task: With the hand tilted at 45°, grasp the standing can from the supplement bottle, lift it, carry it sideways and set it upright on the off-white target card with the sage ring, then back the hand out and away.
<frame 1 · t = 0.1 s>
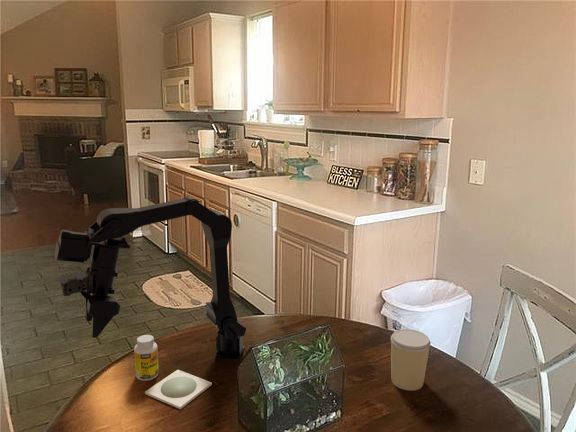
hand: (91, 328, 109), 15 cm above the table, tool pointing down, fingers open, 9 cm apart
target card: (179, 389, 113), on the table
supplement bottle: (147, 376, 118), on the table
coffee cup: (407, 382, 117), on the table
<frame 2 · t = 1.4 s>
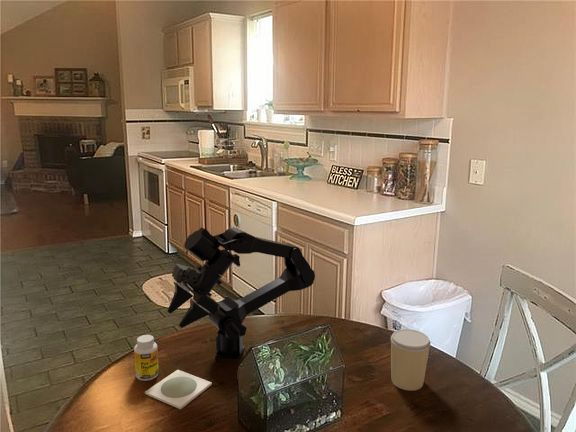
hand: (174, 319, 119), 13 cm above the table, tool tilted 45°, fingers open, 9 cm apart
nothing on the table moved.
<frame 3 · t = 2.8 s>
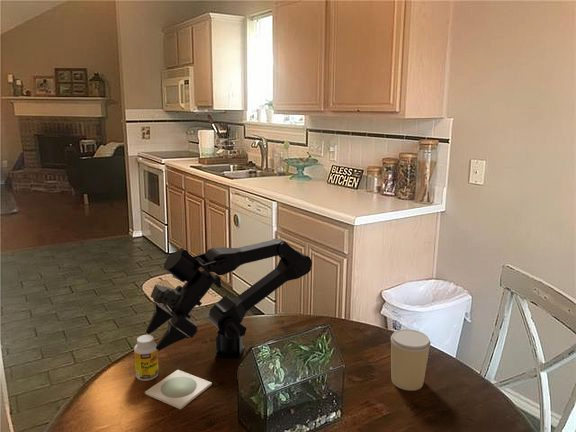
hand: (152, 341, 117), 9 cm above the table, tool tilted 45°, fingers open, 9 cm apart
nothing on the table moved.
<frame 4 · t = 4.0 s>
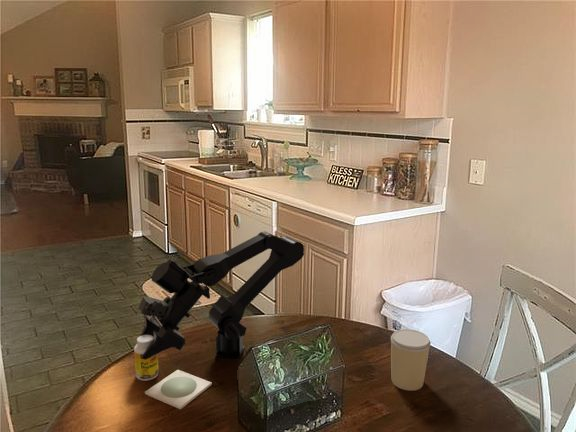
hand: (140, 353, 116), 7 cm above the table, tool tilted 45°, fingers closed on supplement bottle, 5 cm apart
supplement bottle: (147, 376, 118), on the table, touching gripper
everything else where it was.
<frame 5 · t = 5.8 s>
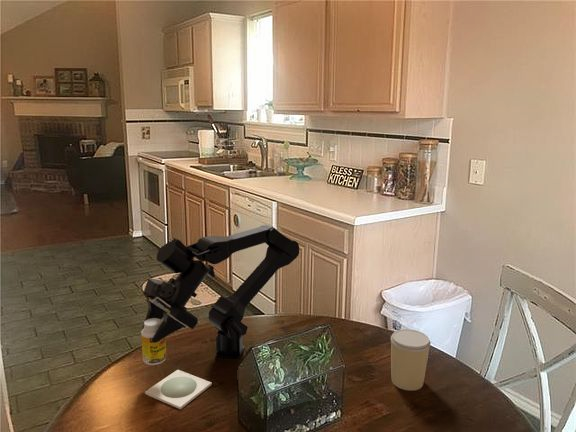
hand: (148, 337, 112), 12 cm above the table, tool tilted 45°, fingers closed on supplement bottle, 5 cm apart
supplement bottle: (155, 360, 115), point 5 cm above the table, touching gripper
everything else where it was.
when the fingers open (8 cm above the table, at t = 7.7 s): supplement bottle stays where it is, resting on target card.
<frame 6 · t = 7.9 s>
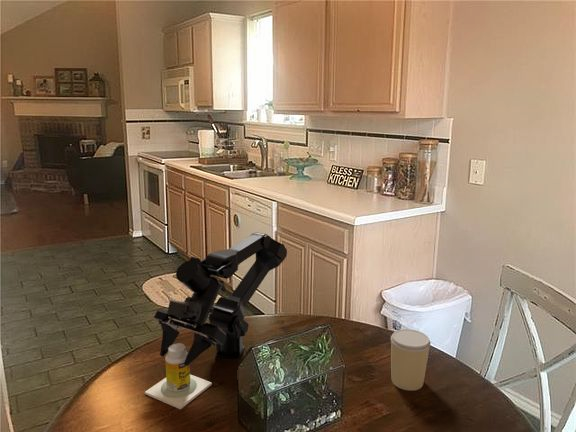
hand: (173, 360, 110), 8 cm above the table, tool tilted 45°, fingers open, 7 cm apart
supplement bottle: (178, 386, 113), point 1 cm above the table, touching target card
everything else where it was.
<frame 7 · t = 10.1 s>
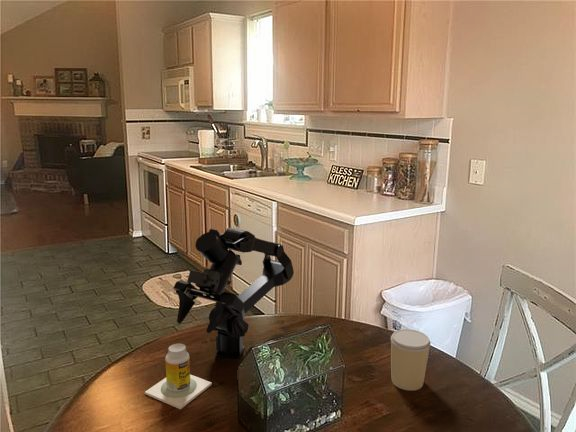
hand: (192, 327, 114), 14 cm above the table, tool tilted 45°, fingers open, 9 cm apart
nothing on the table moved.
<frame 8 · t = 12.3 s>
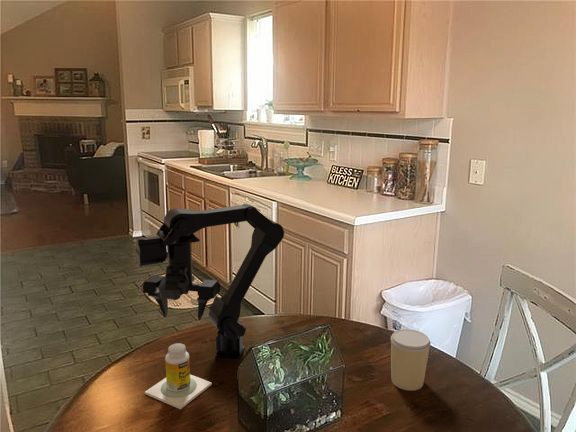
hand: (182, 317, 121), 13 cm above the table, tool pointing down, fingers open, 9 cm apart
nothing on the table moved.
at the end: supplement bottle inside the target area on the target card (0.2 cm from its centre), point 0.5 cm above the target card's base; supplement bottle tilted 0°; the gripper is holding nothing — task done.
